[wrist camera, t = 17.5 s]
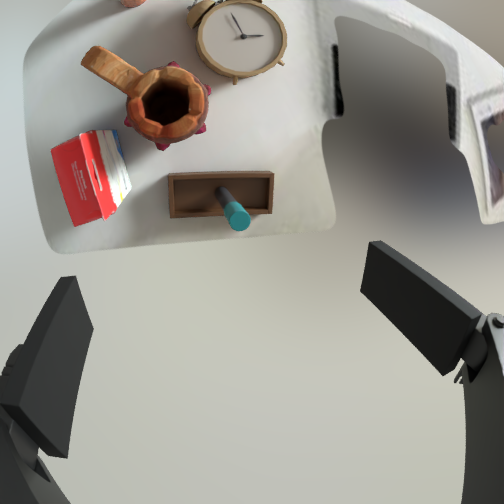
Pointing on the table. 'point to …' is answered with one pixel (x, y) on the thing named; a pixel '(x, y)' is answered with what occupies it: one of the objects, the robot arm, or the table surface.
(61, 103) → the table surface
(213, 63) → the alarm clock
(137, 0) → the pen pot
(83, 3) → the table surface
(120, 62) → the mug
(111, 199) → the ink box
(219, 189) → the marker
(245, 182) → the pen tray
